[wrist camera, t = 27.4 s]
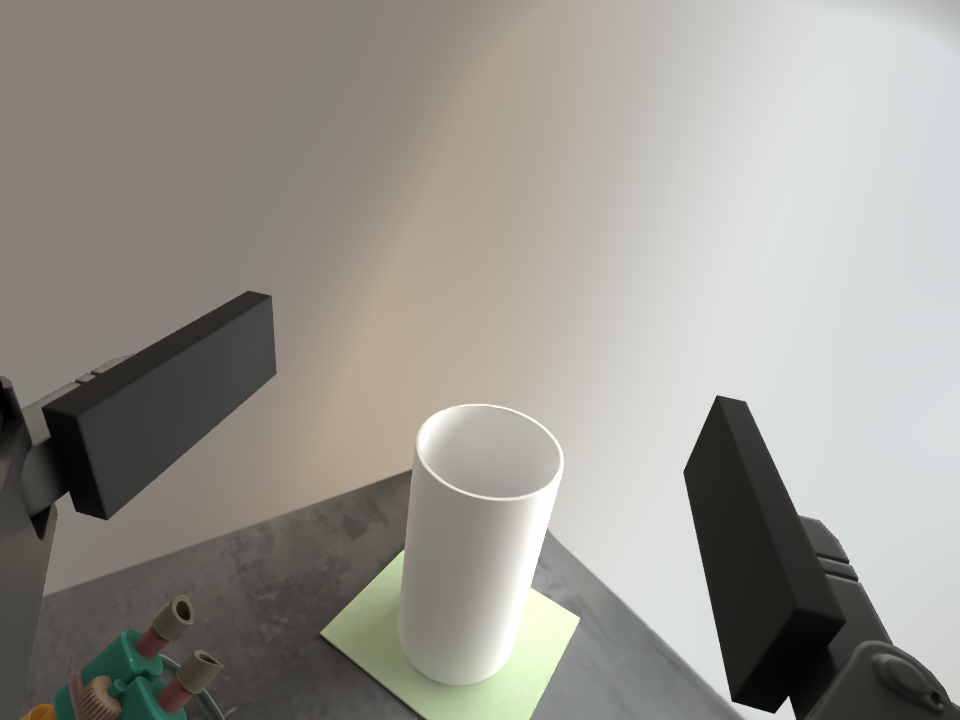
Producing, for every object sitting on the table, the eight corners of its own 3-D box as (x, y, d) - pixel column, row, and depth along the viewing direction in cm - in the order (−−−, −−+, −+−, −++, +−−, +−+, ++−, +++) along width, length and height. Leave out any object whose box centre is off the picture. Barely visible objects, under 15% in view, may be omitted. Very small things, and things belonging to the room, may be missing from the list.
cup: (530, 604, 38) (580, 433, 30) (487, 711, 31) (537, 526, 24) (432, 558, 41) (456, 388, 33) (373, 647, 34) (385, 461, 26)
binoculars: (131, 725, 30) (-48, 716, 23) (255, 597, 33) (132, 550, 25) (191, 886, 25) (-17, 947, 17) (333, 718, 28) (208, 705, 20)
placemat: (319, 634, 34) (319, 632, 34) (428, 526, 44) (428, 524, 44) (499, 780, 29) (499, 778, 29) (579, 619, 38) (580, 618, 38)
